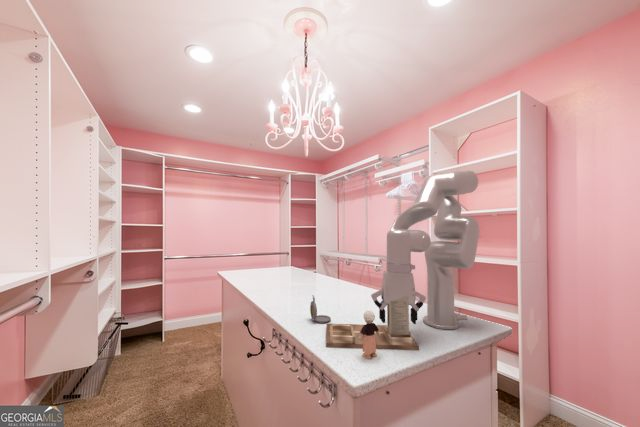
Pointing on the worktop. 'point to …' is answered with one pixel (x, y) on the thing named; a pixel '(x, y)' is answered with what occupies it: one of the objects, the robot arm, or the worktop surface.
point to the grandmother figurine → (369, 335)
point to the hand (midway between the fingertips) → (398, 321)
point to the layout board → (350, 338)
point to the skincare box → (398, 316)
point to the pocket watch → (314, 314)
